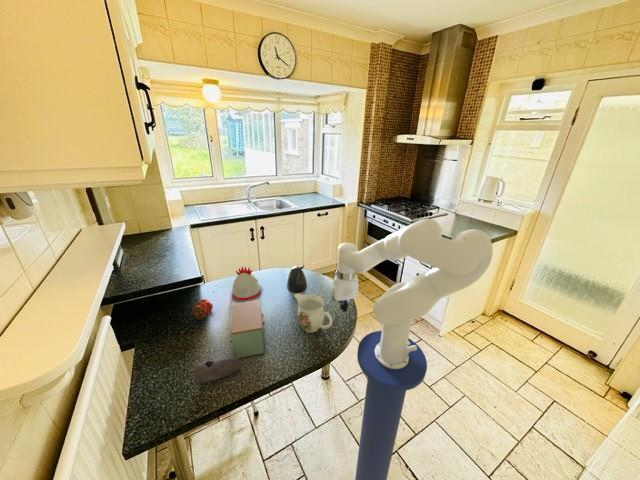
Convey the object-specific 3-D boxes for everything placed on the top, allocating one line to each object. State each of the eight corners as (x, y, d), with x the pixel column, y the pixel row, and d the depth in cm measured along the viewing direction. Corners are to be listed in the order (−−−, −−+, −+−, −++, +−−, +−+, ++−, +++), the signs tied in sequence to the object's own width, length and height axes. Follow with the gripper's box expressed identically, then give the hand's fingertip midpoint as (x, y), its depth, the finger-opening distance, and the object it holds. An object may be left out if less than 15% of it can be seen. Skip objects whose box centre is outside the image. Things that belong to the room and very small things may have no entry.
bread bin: (264, 322, 111) (262, 299, 106) (267, 352, 97) (264, 327, 91) (236, 327, 108) (232, 303, 103) (235, 359, 94) (230, 333, 89)
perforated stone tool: (242, 363, 92) (240, 349, 89) (243, 375, 88) (241, 361, 85) (197, 375, 88) (193, 361, 85) (196, 389, 83) (192, 374, 80)
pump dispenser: (311, 292, 132) (311, 266, 125) (297, 301, 124) (296, 275, 118) (297, 284, 138) (296, 259, 131) (283, 293, 130) (281, 267, 124)
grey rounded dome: (257, 300, 125) (254, 274, 119) (229, 300, 125) (224, 274, 119) (263, 284, 137) (260, 260, 131) (237, 284, 138) (233, 259, 131)
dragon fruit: (201, 328, 110) (203, 314, 121) (217, 314, 111) (217, 301, 121) (185, 317, 106) (189, 303, 117) (201, 303, 107) (203, 290, 118)
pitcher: (324, 345, 100) (325, 317, 94) (288, 327, 109) (286, 301, 103) (337, 328, 109) (339, 301, 103) (303, 312, 117) (302, 287, 111)
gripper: (330, 280, 96) (329, 318, 104) (367, 275, 100) (363, 312, 108) (325, 270, 103) (324, 306, 111) (359, 266, 107) (356, 301, 114)
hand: (343, 309), depth 109 cm, fingers closed
